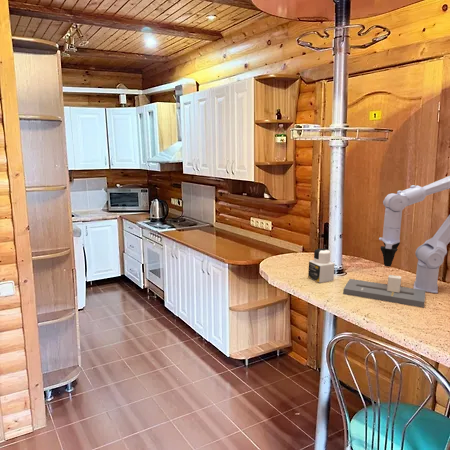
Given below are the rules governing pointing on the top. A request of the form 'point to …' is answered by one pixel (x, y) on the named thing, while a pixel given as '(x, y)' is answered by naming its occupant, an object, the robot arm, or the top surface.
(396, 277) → the fader tab
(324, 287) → the top surface
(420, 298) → the fader console
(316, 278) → the medicine bottle
